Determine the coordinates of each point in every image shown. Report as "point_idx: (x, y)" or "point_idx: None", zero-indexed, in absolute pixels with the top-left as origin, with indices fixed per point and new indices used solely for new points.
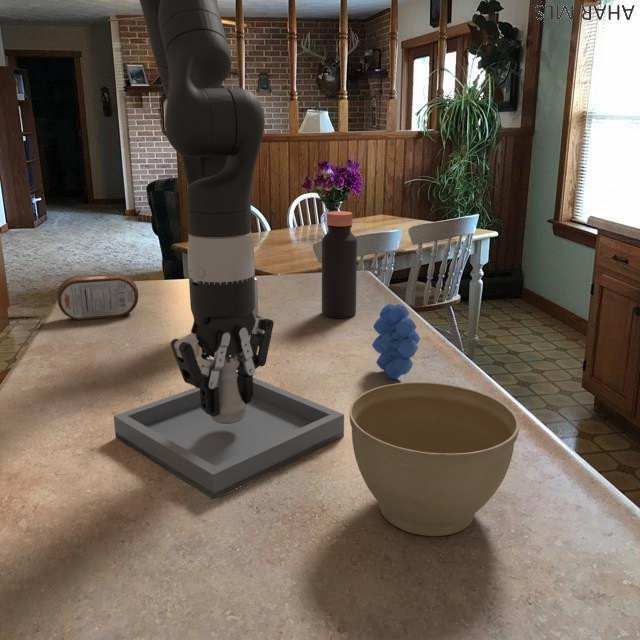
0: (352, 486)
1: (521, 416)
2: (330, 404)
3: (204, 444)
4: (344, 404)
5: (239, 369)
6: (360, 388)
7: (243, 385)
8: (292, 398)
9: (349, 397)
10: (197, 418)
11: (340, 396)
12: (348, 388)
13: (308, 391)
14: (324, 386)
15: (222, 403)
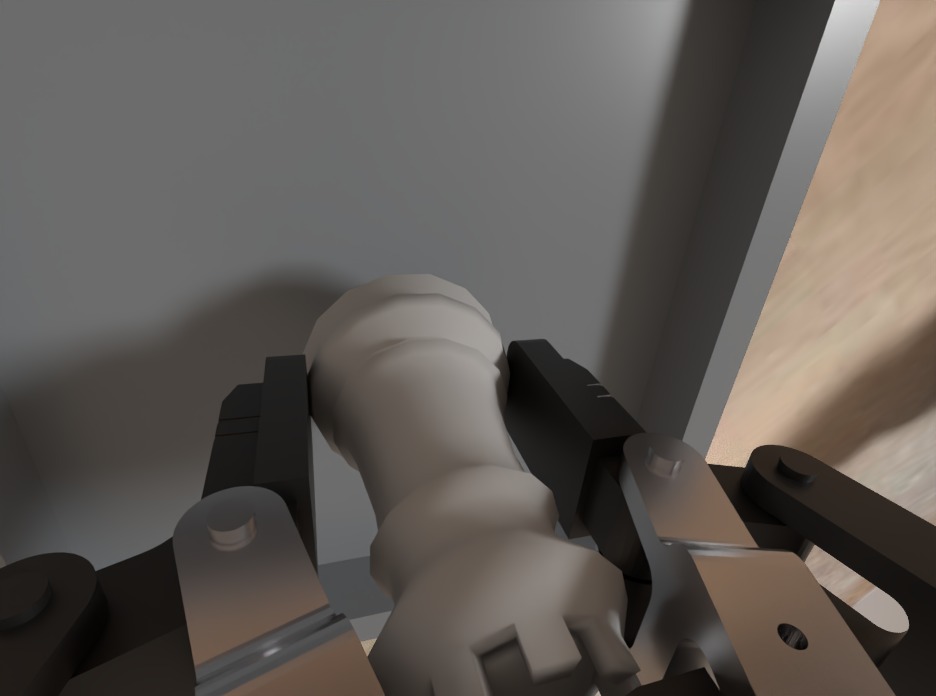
0: None
1: (848, 604)
2: (792, 343)
3: (218, 353)
4: (805, 371)
5: (614, 498)
6: (928, 318)
7: (545, 467)
8: (697, 400)
9: (857, 344)
10: (360, 74)
11: (858, 320)
12: (923, 291)
13: (874, 204)
14: (927, 216)
15: (351, 460)
